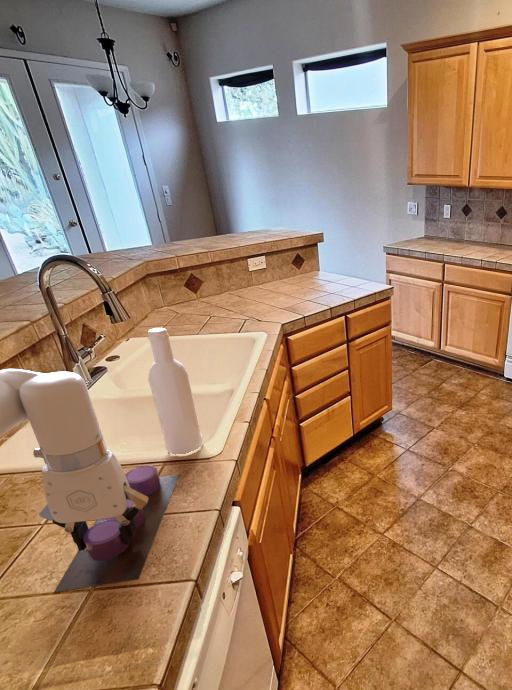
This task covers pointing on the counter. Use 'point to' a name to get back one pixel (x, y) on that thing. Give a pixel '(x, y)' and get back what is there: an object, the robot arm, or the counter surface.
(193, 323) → the counter surface
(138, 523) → the dish centre
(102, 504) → the robot arm
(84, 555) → the dark grey board
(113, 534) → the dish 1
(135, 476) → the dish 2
